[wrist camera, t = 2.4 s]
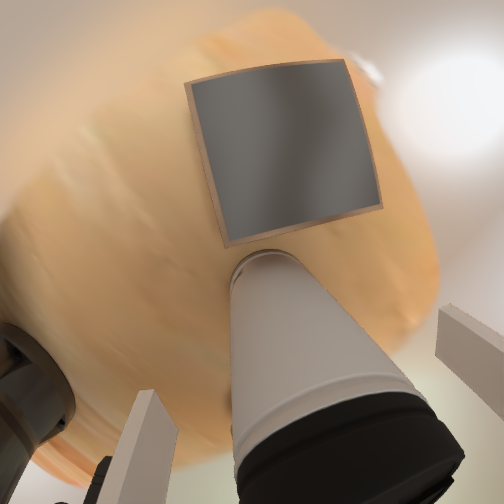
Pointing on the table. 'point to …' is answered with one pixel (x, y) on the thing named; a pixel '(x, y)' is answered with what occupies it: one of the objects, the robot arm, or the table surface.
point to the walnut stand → (283, 148)
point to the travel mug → (323, 400)
